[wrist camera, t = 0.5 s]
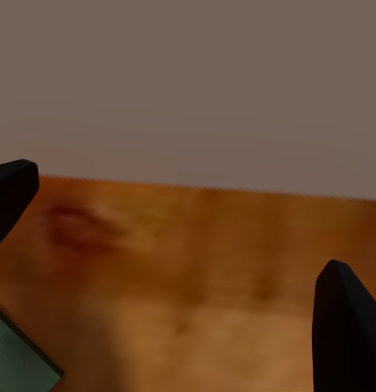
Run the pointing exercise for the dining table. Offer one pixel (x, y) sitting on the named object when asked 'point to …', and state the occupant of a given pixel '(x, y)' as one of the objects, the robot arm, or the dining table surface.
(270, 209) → the dining table surface
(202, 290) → the dining table surface
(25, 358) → the base
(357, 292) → the robot arm
